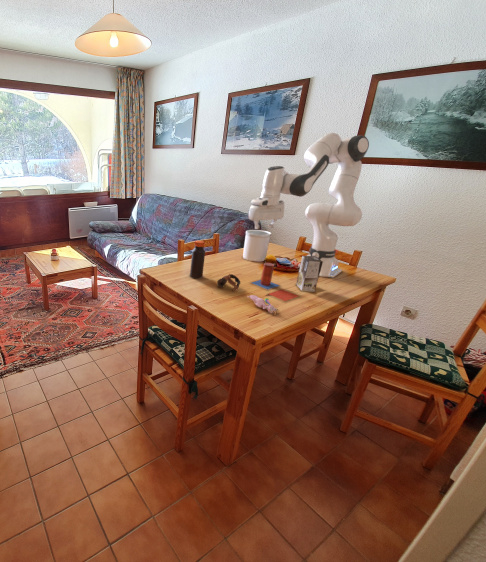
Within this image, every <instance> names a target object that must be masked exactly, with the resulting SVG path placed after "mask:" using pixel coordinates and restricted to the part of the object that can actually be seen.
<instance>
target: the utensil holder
mask: <svg viewBox="0 0 486 562" xmlns="http://www.w3.org/2000/svg"><path fill="white" fill-rule="evenodd" d="M271 236H272V232H270V231H268V230H261V229H248V230H245V237H244V243H243V252H242V253H243V254H242V258H243V259H244V260H246V261H250V262H264V259H265V258H267V256H268V250H269V244H270V239H271ZM265 260H266V259H265Z"/></svg>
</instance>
